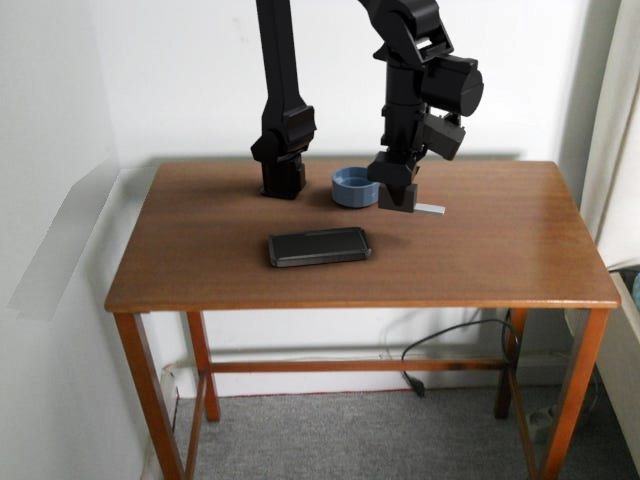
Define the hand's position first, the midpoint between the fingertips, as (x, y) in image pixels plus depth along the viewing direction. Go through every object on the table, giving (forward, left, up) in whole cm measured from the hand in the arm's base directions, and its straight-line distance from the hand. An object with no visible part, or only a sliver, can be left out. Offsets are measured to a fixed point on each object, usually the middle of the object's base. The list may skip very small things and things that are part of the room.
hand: (400, 201), depth 102 cm
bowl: (-10, +10, -6) cm, 15 cm away
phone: (-11, -7, -6) cm, 14 cm away
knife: (+2, 0, -1) cm, 2 cm away
